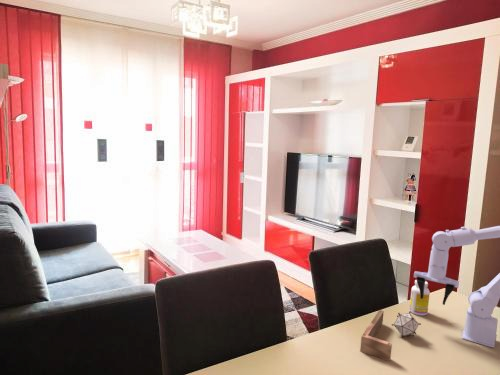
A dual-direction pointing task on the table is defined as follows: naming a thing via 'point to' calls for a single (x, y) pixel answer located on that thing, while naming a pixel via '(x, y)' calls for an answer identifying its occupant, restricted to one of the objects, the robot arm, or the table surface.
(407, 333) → the game die
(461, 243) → the robot arm
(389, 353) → the l-shaped bracket
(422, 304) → the supplement bottle
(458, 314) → the table surface
